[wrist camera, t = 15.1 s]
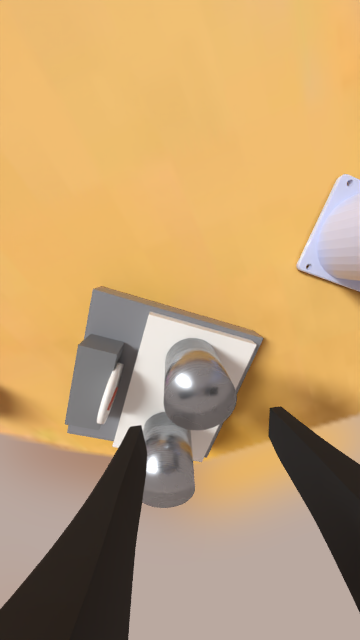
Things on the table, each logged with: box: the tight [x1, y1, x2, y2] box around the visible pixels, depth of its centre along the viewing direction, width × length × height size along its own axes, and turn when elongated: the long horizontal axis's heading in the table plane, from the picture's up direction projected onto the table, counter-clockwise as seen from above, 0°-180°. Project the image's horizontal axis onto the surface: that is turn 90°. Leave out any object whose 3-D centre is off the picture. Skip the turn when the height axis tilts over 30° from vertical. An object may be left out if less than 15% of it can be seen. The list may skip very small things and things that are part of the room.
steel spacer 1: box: [142, 412, 195, 508], centre depth 16 cm, size 5×5×5 cm
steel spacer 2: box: [164, 338, 237, 430], centre depth 14 cm, size 5×5×5 cm
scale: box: [65, 286, 263, 462], centre depth 17 cm, size 16×16×6 cm
